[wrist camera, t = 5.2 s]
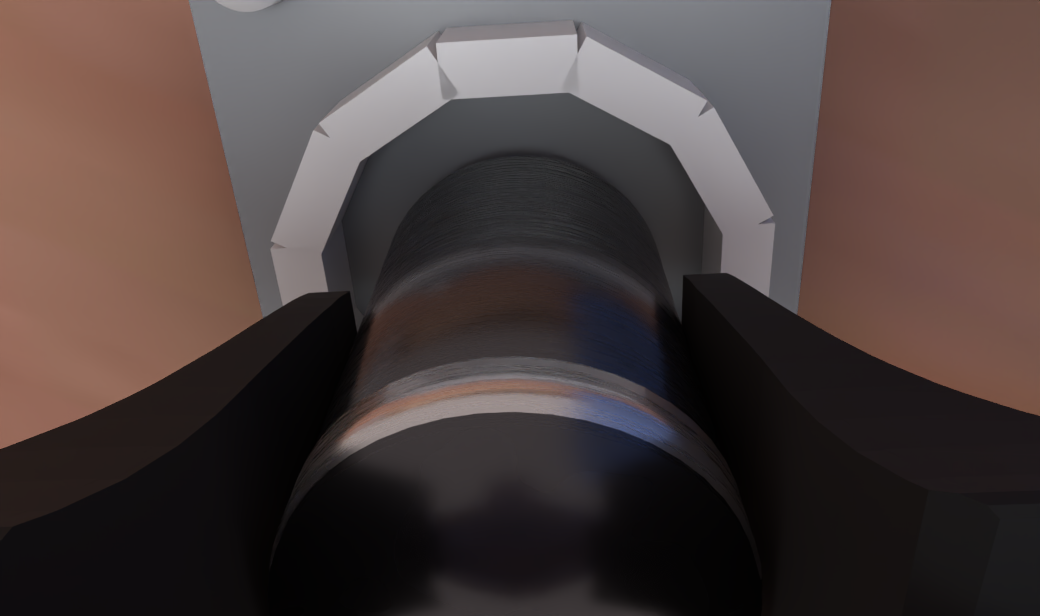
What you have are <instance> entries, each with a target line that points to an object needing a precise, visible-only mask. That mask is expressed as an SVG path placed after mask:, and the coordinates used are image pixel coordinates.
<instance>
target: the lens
mask: <svg viewBox="0 0 1040 616" xmlns="http://www.w3.org/2000/svg"><path fill="white" fill-rule="evenodd" d="M268 580H269V584H268V603H269V611H270V616H761V612H762V588H763V586H762V571H761V562H760V558H759V554H758V550H757V547H756V543H755V539H754V536H753V533H752V530H751V527H750V524H749V521H748V518H747V515H746V512H745V508H744V505H743V502H742V499H741V496H740V493H739V490H738V487H737V484H736V481H735V479H734V477H733V475H732V473H731V471H730V468H729V466H728V464H727V462H726V460H725V459H724V457H723V456H722V453H721V449H720V446H719V443H718V440H717V437H716V433H715V430H714V427H713V424H712V421H711V418H710V414H709V411H708V408H707V405H706V402H705V399H704V395H703V392H702V389H701V386H700V383H699V380H698V376H697V373H696V370H695V367H694V364H693V360H692V357H691V354H690V351H689V348H688V345H687V341H686V338H685V335H684V332H683V329H682V326H681V322H680V319H679V316H678V313H677V310H676V307H675V303H674V300H673V297H672V294H671V291H670V287H669V284H668V281H667V278H666V275H665V272H664V268H663V265H662V262H661V259H660V256H659V253H658V249H657V246H656V243H655V241H654V238H653V236H652V234H651V231H650V229H649V227H648V225H647V224H646V222H645V221H644V219H643V217H642V216H641V214H640V213H639V211H638V210H637V209H636V208H635V207H634V205H633V204H632V203H631V202H630V201H629V200H628V198H627V197H625V196H624V195H623V194H622V193H621V192H620V191H619V190H618V189H616V188H615V187H614V186H613V185H611V184H610V183H608V182H607V181H605V180H604V179H602V178H601V177H599V176H598V175H596V174H594V173H592V172H590V171H587V170H585V169H583V168H581V167H578V166H576V165H573V164H570V163H567V162H564V161H559V160H554V159H549V158H545V157H532V156H514V157H502V158H496V159H491V160H485V161H482V162H479V163H476V164H473V165H470V166H467V167H465V168H463V169H460V170H458V171H456V172H454V173H452V174H450V175H448V176H447V177H445V178H444V179H442V180H441V181H439V182H437V183H436V184H434V185H433V186H432V187H431V188H430V189H429V190H427V191H426V192H425V193H424V194H423V195H422V196H421V197H420V198H419V199H418V200H417V201H416V202H415V203H414V204H413V206H412V207H411V208H410V209H409V210H408V212H407V213H406V215H405V217H404V218H403V220H402V221H401V223H400V224H399V226H398V229H397V231H396V233H395V235H394V237H393V240H392V242H391V245H390V248H389V250H388V253H387V256H386V258H385V261H384V263H383V266H382V269H381V271H380V274H379V277H378V279H377V282H376V285H375V287H374V290H373V293H372V295H371V298H370V301H369V303H368V306H367V309H366V311H365V314H364V317H363V319H362V322H361V325H360V327H359V330H358V333H357V335H356V338H355V340H354V343H353V346H352V348H351V351H350V354H349V356H348V359H347V362H346V364H345V367H344V370H343V372H342V375H341V378H340V380H339V383H338V386H337V388H336V391H335V394H334V396H333V399H332V402H331V404H330V407H329V409H328V412H327V415H326V417H325V420H324V423H323V425H322V428H321V431H320V433H319V436H318V439H317V441H316V444H315V446H314V447H313V449H312V450H311V452H310V453H309V455H308V456H307V459H306V461H305V463H304V465H303V467H302V469H301V471H300V473H299V476H298V478H297V480H296V483H295V486H294V488H293V491H292V493H291V496H290V499H289V501H288V504H287V506H286V509H285V512H284V514H283V517H282V519H281V522H280V525H279V527H278V530H277V532H276V536H275V539H274V543H273V547H272V551H271V555H270V564H269V578H268Z"/></svg>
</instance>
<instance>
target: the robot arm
mask: <svg viewBox="0 0 1040 616" xmlns="http://www.w3.org/2000/svg"><path fill="white" fill-rule="evenodd" d="M681 326H682V329H683V332H684V335H685V338H686V341H687V345H688V348H689V351H690V354H691V357H692V360H693V364H694V367H695V370H696V373H697V376H698V380H699V383H700V386H701V389H702V392H703V395H704V399H705V402H706V405H707V408H708V411H709V414H710V418H711V421H712V424H713V427H714V430H715V433H716V437H717V440H718V443H719V446H720V449H721V453H722V456H723V457H724V459H725V460H726V462H727V464H728V466H729V468H730V471H731V473H732V475H733V477H734V479H735V481H736V484H737V487H738V490H739V493H740V496H741V499H742V502H743V505H744V508H745V512H746V515H747V518H748V521H749V524H750V527H751V530H752V533H753V536H754V539H755V543H756V547H757V550H758V554H759V558H760V562H761V571H762V586H763V588H762V612H761V616H1040V416H1037V415H1034V414H1030V413H1026V412H1023V411H1019V410H1016V409H1012V408H1009V407H1006V406H1003V405H1000V404H997V403H993V402H990V401H987V400H984V399H981V398H978V397H974V396H971V395H968V394H965V393H962V392H959V391H957V390H954V389H951V388H948V387H945V386H943V385H940V384H937V383H934V382H932V381H930V380H927V379H925V378H922V377H920V376H917V375H915V374H913V373H910V372H908V371H905V370H903V369H900V368H898V367H896V366H893V365H891V364H889V363H886V362H884V361H882V360H880V359H878V358H876V357H873V356H871V355H869V354H867V353H865V352H863V351H861V350H859V349H857V348H856V347H854V346H852V345H850V344H848V343H846V342H844V341H842V340H840V339H838V338H836V337H834V336H832V335H831V334H829V333H827V332H825V331H824V330H822V329H820V328H818V327H816V326H815V325H813V324H811V323H810V322H808V321H806V320H805V319H803V318H801V317H800V316H798V315H796V314H795V313H793V312H791V311H790V310H788V309H786V308H785V307H783V306H782V305H780V304H778V303H777V302H775V301H774V300H772V299H770V298H769V297H767V296H766V295H764V294H763V293H761V292H759V291H758V290H756V289H755V288H753V287H751V286H750V285H748V284H747V283H745V282H743V281H742V280H740V279H738V278H736V277H735V276H733V275H730V274H728V273H712V274H691V275H683V291H682V320H681ZM356 335H357V328H356V323H355V317H354V311H353V305H352V300H351V294H350V291H336V292H315V293H307V294H305V295H302V296H300V297H298V298H296V299H294V300H292V301H291V302H289V303H287V304H285V305H284V306H282V307H280V308H279V309H277V310H276V311H274V312H272V313H271V314H269V315H268V316H266V317H264V318H263V319H261V320H260V321H258V322H257V323H255V324H253V325H252V326H250V327H249V328H247V329H246V330H244V331H242V332H241V333H239V334H238V335H236V336H235V337H233V338H231V339H230V340H228V341H227V342H225V343H224V344H222V345H220V346H219V347H217V348H215V349H214V350H212V351H210V352H209V353H207V354H205V355H203V356H202V357H200V358H198V359H196V360H195V361H193V362H191V363H190V364H188V365H186V366H184V367H183V368H181V369H179V370H177V371H176V372H174V373H172V374H171V375H169V376H167V377H165V378H164V379H162V380H160V381H158V382H156V383H154V384H152V385H151V386H149V387H147V388H145V389H143V390H141V391H139V392H137V393H135V394H133V395H131V396H129V397H127V398H125V399H122V400H120V401H118V402H116V403H114V404H112V405H110V406H107V407H105V408H103V409H101V410H99V411H97V412H94V413H92V414H90V415H88V416H85V417H83V418H81V419H78V420H76V421H73V422H71V423H68V424H65V425H63V426H60V427H58V428H55V429H52V430H50V431H47V432H45V433H42V434H39V435H37V436H34V437H31V438H29V439H26V440H24V441H21V442H18V443H16V444H13V445H11V446H8V447H5V448H3V449H0V616H270V611H269V603H268V584H269V580H268V578H269V564H270V555H271V551H272V547H273V543H274V539H275V536H276V532H277V530H278V527H279V525H280V522H281V519H282V517H283V514H284V512H285V509H286V506H287V504H288V501H289V499H290V496H291V493H292V491H293V488H294V486H295V483H296V480H297V478H298V476H299V473H300V471H301V469H302V467H303V465H304V463H305V461H306V459H307V456H308V455H309V453H310V452H311V450H312V449H313V447H314V446H315V444H316V441H317V439H318V436H319V433H320V431H321V428H322V425H323V423H324V420H325V417H326V415H327V412H328V409H329V407H330V404H331V402H332V399H333V396H334V394H335V391H336V388H337V386H338V383H339V380H340V378H341V375H342V372H343V370H344V367H345V364H346V362H347V359H348V356H349V354H350V351H351V348H352V346H353V343H354V340H355V338H356Z"/></svg>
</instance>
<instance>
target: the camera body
mask: <svg viewBox="0 0 1040 616" xmlns="http://www.w3.org/2000/svg"><path fill="white" fill-rule="evenodd" d="M189 4H190V8H191V12H192V16H193V21H194V25H195V29H196V33H197V38H198V42H199V46H200V50H201V55H202V59H203V63H204V68H205V72H206V76H207V80H208V85H209V89H210V93H211V97H212V102H213V106H214V110H215V114H216V119H217V123H218V127H219V132H220V136H221V140H222V144H223V149H224V153H225V157H226V161H227V166H228V170H229V174H230V178H231V183H232V187H233V191H234V196H235V200H236V204H237V208H238V213H239V217H240V221H241V225H242V230H243V234H244V238H245V243H246V247H247V251H248V255H249V260H250V264H251V268H252V272H253V277H254V281H255V285H256V289H257V294H258V298H259V302H260V307H261V311H262V315H263V318H264V317H266V316H268V315H269V314H271V313H272V312H274V311H276V310H277V309H279V308H280V307H282V306H284V305H285V304H287V303H289V302H291V301H292V300H294V299H296V298H298V297H300V296H302V295H305V294H307V293H315V292H336V291H350V294H351V300H352V305H353V311H354V317H355V323H356V328H357V333H358V330H359V327H360V325H361V322H362V319H363V317H364V314H365V311H366V309H367V306H368V303H369V301H370V298H371V295H372V293H373V290H374V287H375V285H376V282H377V279H378V277H379V274H380V271H381V269H382V266H383V263H384V261H385V258H386V256H387V253H388V250H389V248H390V245H391V242H392V240H393V237H394V235H395V233H396V231H397V229H398V226H399V224H400V223H401V221H402V220H403V218H404V217H405V215H406V213H407V212H408V210H409V209H410V208H411V207H412V206H413V204H414V203H415V202H416V201H417V200H418V199H419V198H420V197H421V196H422V195H423V194H424V193H425V192H426V191H427V190H429V189H430V188H431V187H432V186H433V185H434V184H436V183H437V182H439V181H441V180H442V179H444V178H445V177H447V176H448V175H450V174H452V173H454V172H456V171H458V170H460V169H463V168H465V167H467V166H470V165H473V164H476V163H479V162H482V161H485V160H491V159H496V158H502V157H514V156H532V157H545V158H549V159H554V160H559V161H564V162H567V163H570V164H573V165H576V166H578V167H581V168H583V169H585V170H587V171H590V172H592V173H594V174H596V175H598V176H599V177H601V178H602V179H604V180H605V181H607V182H608V183H610V184H611V185H613V186H614V187H615V188H616V189H618V190H619V191H620V192H621V193H622V194H623V195H624V196H625V197H627V198H628V200H629V201H630V202H631V203H632V204H633V205H634V207H635V208H636V209H637V210H638V211H639V213H640V214H641V216H642V217H643V219H644V221H645V222H646V224H647V225H648V227H649V229H650V231H651V234H652V236H653V238H654V241H655V243H656V246H657V249H658V253H659V256H660V259H661V262H662V265H663V268H664V272H665V275H666V278H667V281H668V284H669V287H670V291H671V294H672V297H673V300H674V303H675V307H676V310H677V313H678V316H679V319H680V322H681V320H682V291H683V275H691V274H712V273H728V274H730V275H733V276H735V277H736V278H738V279H740V280H742V281H743V282H745V283H747V284H748V285H750V286H751V287H753V288H755V289H756V290H758V291H759V292H761V293H763V294H764V295H766V296H767V297H769V298H770V299H772V300H774V301H775V302H777V303H778V304H780V305H782V306H783V307H785V308H786V309H788V310H790V311H791V312H793V313H795V314H796V315H797V312H798V303H799V293H800V284H801V275H802V266H803V256H804V247H805V238H806V229H807V219H808V210H809V201H810V192H811V182H812V173H813V164H814V155H815V145H816V136H817V127H818V118H819V108H820V99H821V90H822V81H823V71H824V62H825V53H826V44H827V34H828V25H829V16H830V7H831V0H189Z"/></svg>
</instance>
